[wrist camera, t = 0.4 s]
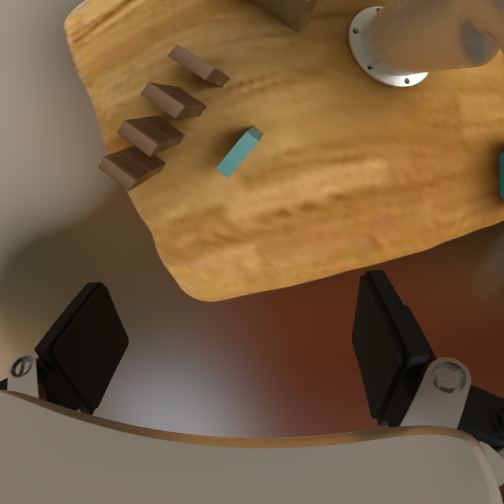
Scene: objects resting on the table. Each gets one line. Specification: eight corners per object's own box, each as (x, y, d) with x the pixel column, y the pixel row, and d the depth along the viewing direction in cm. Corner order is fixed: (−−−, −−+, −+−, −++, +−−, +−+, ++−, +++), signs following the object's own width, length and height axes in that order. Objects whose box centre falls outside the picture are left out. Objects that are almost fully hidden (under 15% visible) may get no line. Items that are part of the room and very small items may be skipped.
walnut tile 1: (140, 143, 37) (104, 156, 28) (165, 162, 38) (135, 180, 30) (134, 152, 38) (98, 167, 29) (159, 171, 39) (128, 191, 30)
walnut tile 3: (178, 87, 33) (148, 82, 24) (206, 106, 34) (184, 106, 25) (171, 96, 34) (140, 94, 25) (199, 115, 35) (175, 118, 26)
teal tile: (230, 154, 37) (215, 168, 28) (253, 126, 35) (246, 131, 26) (239, 161, 38) (228, 178, 29) (262, 133, 36) (259, 141, 27)
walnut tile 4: (200, 58, 31) (177, 44, 22) (229, 78, 32) (214, 67, 23) (193, 67, 32) (167, 56, 23) (222, 87, 33) (204, 79, 24)
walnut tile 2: (158, 115, 35) (124, 120, 26) (185, 135, 36) (157, 144, 27) (152, 125, 36) (117, 132, 27) (178, 144, 37) (149, 156, 28)
